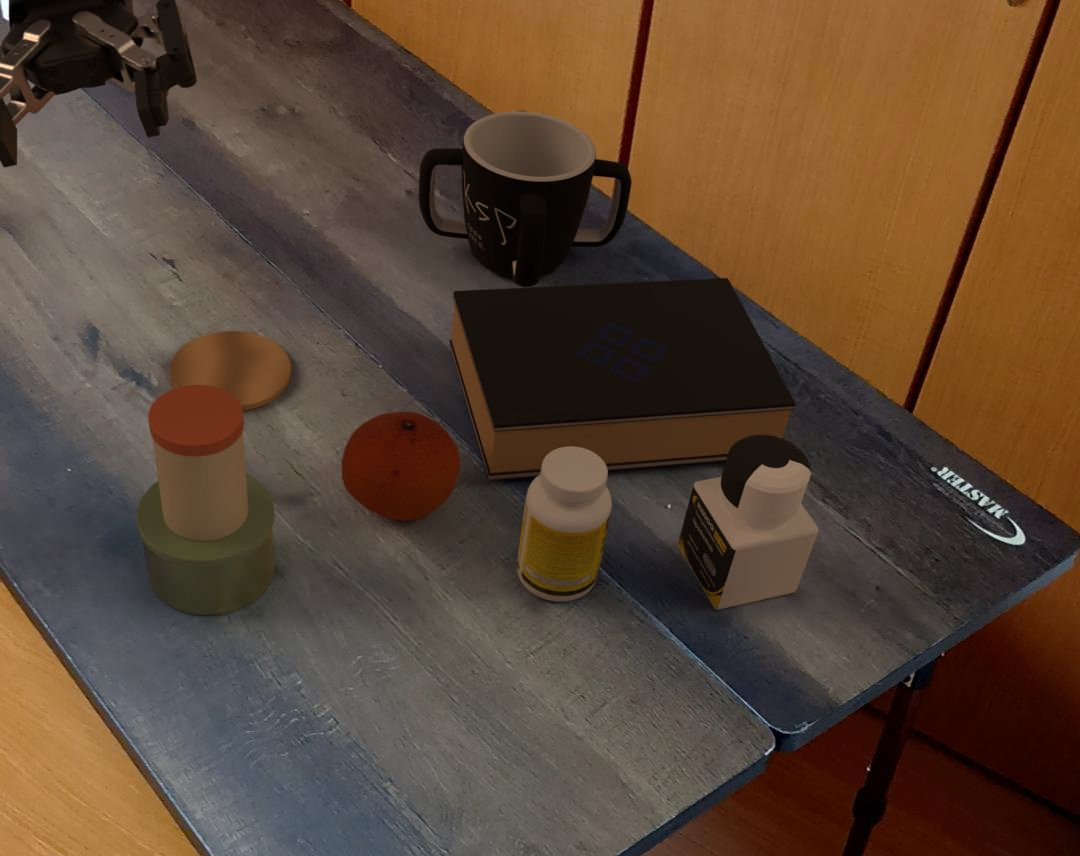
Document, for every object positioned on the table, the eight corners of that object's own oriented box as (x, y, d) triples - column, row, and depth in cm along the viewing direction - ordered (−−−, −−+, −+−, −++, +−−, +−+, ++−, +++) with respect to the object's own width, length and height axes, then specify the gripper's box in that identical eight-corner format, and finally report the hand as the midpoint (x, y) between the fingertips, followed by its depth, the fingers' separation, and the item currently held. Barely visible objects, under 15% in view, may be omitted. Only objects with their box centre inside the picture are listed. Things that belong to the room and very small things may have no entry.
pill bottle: (609, 595, 99) (633, 490, 91) (533, 613, 97) (551, 507, 89) (578, 537, 103) (598, 431, 95) (504, 553, 101) (518, 446, 93)
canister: (165, 547, 90) (152, 450, 83) (158, 486, 93) (144, 388, 87) (255, 536, 91) (248, 440, 85) (244, 477, 95) (237, 380, 89)
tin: (150, 626, 92) (141, 569, 88) (140, 531, 98) (131, 472, 94) (285, 608, 95) (283, 551, 90) (267, 516, 101) (264, 458, 97)
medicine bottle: (675, 545, 103) (705, 431, 95) (755, 528, 106) (792, 415, 97) (714, 612, 99) (750, 499, 90) (797, 593, 101) (839, 481, 93)
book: (448, 351, 117) (453, 290, 112) (712, 336, 123) (727, 277, 118) (487, 488, 106) (494, 425, 101) (776, 463, 111) (796, 403, 107)
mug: (400, 239, 128) (405, 126, 119) (524, 191, 136) (536, 83, 128) (509, 325, 121) (522, 212, 112) (633, 270, 129) (654, 160, 120)
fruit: (474, 481, 106) (481, 406, 100) (426, 553, 100) (431, 477, 94) (375, 445, 108) (377, 369, 102) (322, 514, 102) (321, 436, 96)
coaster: (176, 417, 107) (175, 412, 107) (165, 341, 114) (164, 335, 113) (299, 405, 110) (299, 400, 109) (282, 331, 116) (282, 326, 116)
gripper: (-65, -49, 82) (-76, 112, 73) (160, -94, 83) (177, 59, 74) (-14, 54, 89) (-18, 214, 80) (196, 11, 89) (215, 165, 80)
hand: (76, 139), depth 77 cm, fingers open, 8 cm apart
